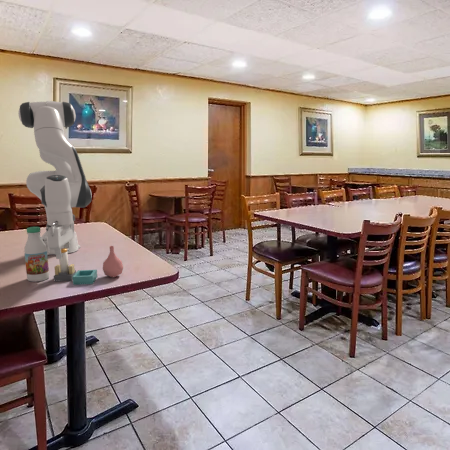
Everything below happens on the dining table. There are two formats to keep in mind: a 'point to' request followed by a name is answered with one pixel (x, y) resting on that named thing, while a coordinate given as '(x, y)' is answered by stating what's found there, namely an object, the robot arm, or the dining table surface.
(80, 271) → the tray
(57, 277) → the clip block
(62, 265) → the fuse
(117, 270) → the pink bulb-shaped piece
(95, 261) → the dining table surface
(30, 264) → the milk bottle
